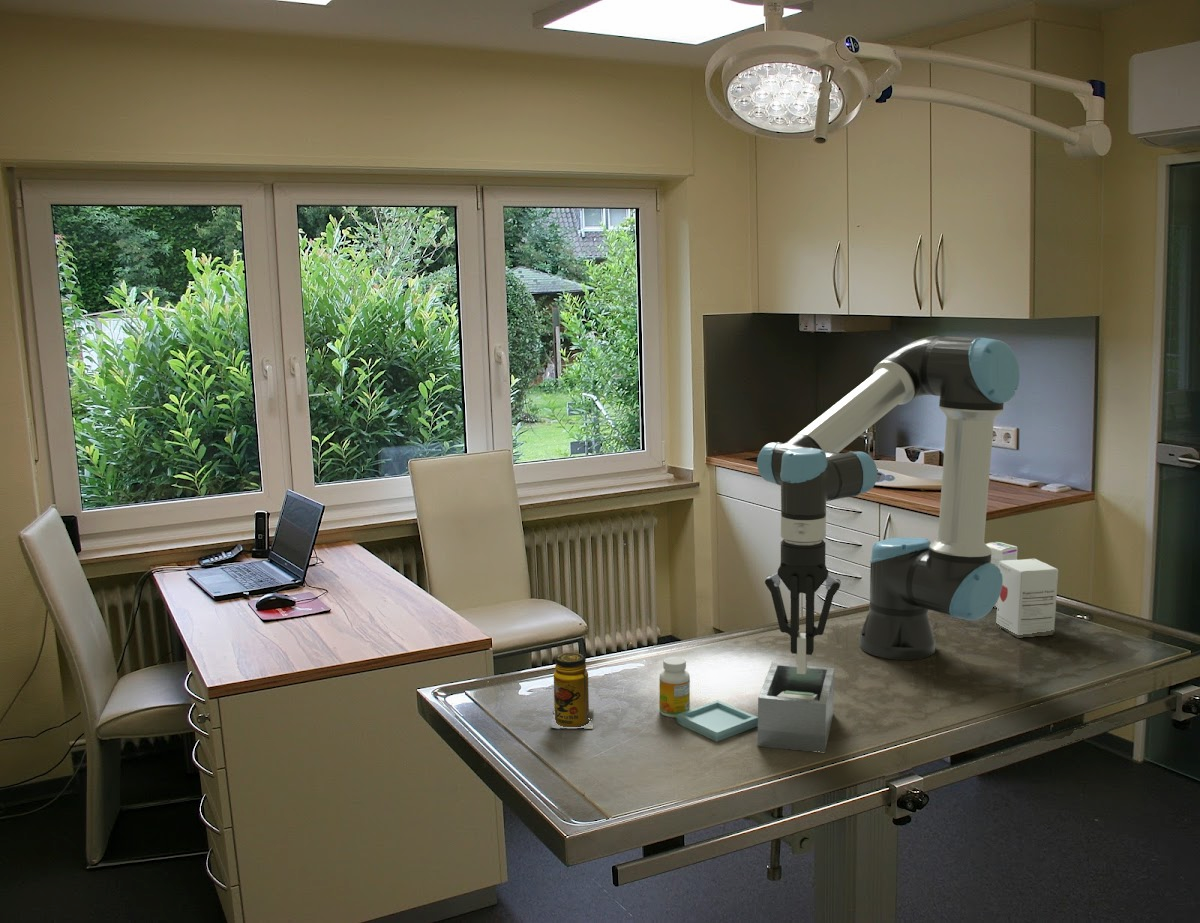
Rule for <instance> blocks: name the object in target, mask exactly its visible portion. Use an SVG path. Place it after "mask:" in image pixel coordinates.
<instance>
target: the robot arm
mask: <svg viewBox="0 0 1200 923" xmlns="http://www.w3.org/2000/svg"><path fill="white" fill-rule="evenodd" d="M1020 374H1021V373H1020V365H1019V361H1018V358H1017V356H1016V353H1015V352H1014V351H1013V349H1012V347H1011V346H1010V345H1009V344H1007V343H1006V342H1004V341H1002V340H999V339H995V338H987V337H964V336H963V337H962V336H945V335H932V336H926V337H923V338H920V339H916V340H915V341H911V342H910V343H908V344H906V345H903V346H902V347H900V348H898V350H895V351H893V352H892V353H890V354H889V355H888V356H886V357H885V358H884V359H882V360H881V361H879V362H878V363H877V364H876V365H875V367H874V368H873V370H872V374H871V375H870V376H869V377H867V378H866V379H865V380H864V381H863V382H861V383H860V384H859V385H858V386H856V387H855V388H854V389H852V390H851V391H850V392H848V393H847V394H846V395H845V396H843V397H842V398H841V399H840V400H838V401H837V402H835V404H833V405H832V406H831V407H829V408H828V409H827V410H826V411H824V412H823V413H822V414H821V415H819V416H818V417H817V418H816V419H814V420H813V421H812V422H811V423H809V424H807V426H806V427H804V428H803V429H802V430H801V431H799V432H798V433H797V434H795V435H794V436H793V437H791V438H790V439H789V440H788V441H786V442H784V443H783V442H779V441H777V442H769V443H767V444H765V445H764V446H763V447H762V448H761V450H760V451H759V453H758V456H757V459H756V460H757V461H756V467H757V470H758V472H759V475H760V477H761V479H763V480H765V481H767V483H768V482H769V483H773V484H775V485H778V486H780V509H781V510H780V537H781V538H782V540H781V541H780V565H779V567H778V569H777V572H775V573H773V574H768V575H767V577H766V578H765V581H764V584H765V585H766V587H767V590H769V591H770V595H771V599H772V603H773V608H774V611H775V614H776V618H777V622H778V627H779V630H780V632H781V633H783V634H785V633H786V634H788V635H789V637H790V653H791V654H795V655H796V665H797V674H806V671H807V666H808V655H810V656H812V655H813V654H814V650H815V648H814V647H815V644H814V643H815V637H817V636H822V635H824V631H825V628H826V625H827V620H828V618H829V614H830V609H831V606H832V603H833V598H834V596H835V595H836V593H837V592H838V591H839V589H840V587H841V582H842V581H841V580H840V578H834V577H833V576H831V575H830V574H829V571H828V570H829V569H828V568H827V566H826V565H827V564H826V542H825V540H824V539H826V531H827V526H826V525H827V502H830V501H835V500H839V499H844V498H851V497H856V496H859V495H861V494H864V493H867V492H870V491H871V490H872V489H873V488H874V486H875V485H876V483H877V480H878V467H877V464H876V462H875V461H874V459H873V457H871V456H870V455H869V454H868V453H867V452H864V451H851V450H850V451H847V452H846V453H845V452H844V453H840V452H841V451H842V450H844V449H845V448H846V447H847V446H848V445H850V444H851V443H852V442H854V440H856V439H857V438H858V437H860V436H861V435H862V434H863V433H864V432H866V431H867V430H868V429H869V428H870V427H872V426H873V425H874V424H876V423H877V422H878V421H879V420H880V419H882V418H883V417H884V416H885V415H887V414H888V413H889V412H890V411H892V410H893V409H894V408H895V407H897V405H906V404H908V403H910V402H911V401H912V400H913V399H914V398H917V397H921V396H935V397H937V396H938V397H939V403H938V404H939V406H938V408H939V409H940V410H941V411H942V412H943V414H944V415H945V416H946V423H945V424H946V425H945V436H944V437H945V438H944V449H943V461H942V462H943V463H942V476H941V478H942V479H941V491H940V506H939V516H938V517H939V519H938V533H937V538H936V539H935V540H934V541H932V542H931V541H930V540H929V539H928V538H924V537H915V536H913V537H911V536H910V537H909V536H907V537H904V536H903V537H894V538H891V537H890V538H886V539H882V540H879V541H877V542H875V543H874V544H873V546H872V548H871V557H870V558H871V559H870V561H869V562H870V570H869V571H870V576H869V577H870V578H869V580H870V582H869V610H868V614H867V615H866V619H865V621H864V624H863V626H862V629H861V632H860V635H859V647H860V649H861V650H862V651H864V652H865V653H868V654H870V655H872V656H875V657H879V658H884V659H889V660H897V661H898V660H899V661H914V660H922V659H926V658H929V657H931V656H932V654H933V653H934V654H935V652H936V637H935V635H934V633H933V628H932V624H931V621H930V618H929V614H928V613H929V612H928V611H929V610H930V611H934V612H935V613H936V612H937V613H941V614H944V615H946V616H950V617H952V618H954V619H963V620H967V621H978V620H981V619H983V618H984V617H986V616H987V615H988V614H989V613H991V611H992V610H993V609H994V608H993V607H994V606H995V604H996V602H997V601H998V598H999V596H1000V593H1001V589H1002V584H1003V577H1002V573H1000V572H1001V571H1000V569H999V568H998V567H997V566H996V565H995V564H992V563H991V554H992V552H991V549H990V548H989V547H988V546H987V545H986V544H987V543H985V535H986V534H985V533H986V523H987V513H988V512H987V510H988V497H989V485H990V474H991V473H990V472H991V459H992V450H993V447H992V446H993V435H994V434H993V433H994V423H995V422H994V421H995V419H996V418H997V417H998V416H999V415H1000V414H1001V413H1002V412H1003V411H1004V404H1005V403H1007V402H1009V401H1010V400H1011V399H1012V398H1013V397H1014V396H1016V391H1017V390H1018V387H1019V383H1020ZM781 582H782V583H783V584H784V585H785V587H786V588H787V590H788V591H789V594H790V623H789V621H788V617H787V613H786V612H787V611H786V608H785V604H784V601H783V600H784V599H783V597H782V591H781V588H780V584H781ZM823 583H826V584H825V589H826V590H827V591H826V595H825V599H824V602H823V606H822V609H821V612H820V617H819V621H818V624H817V625H815V596H816V595H815V594H816V592H817V591H818V590H819V589H820V587H821V586H822V585H823ZM800 594H804V595H805V632H799V631H800ZM934 654H933V655H934ZM930 655H931V656H930Z"/></svg>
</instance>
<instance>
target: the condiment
mask: <svg viewBox="0 0 1200 923" xmlns="http://www.w3.org/2000/svg"><path fill="white" fill-rule="evenodd" d="M586 661H587V659H586V657H585V655H584V654H581V653H578V652H566V653H562V654H558V655H557V656H556V657H555V671H554V673H553V702H554V703H553V704H554V705H553V706H554V709H553V710H554V711H555V713H554V715H555V720H556V723H557V724H558V725H560V726H563V727H581V726H584V725H586V724H588V723H589V721H591V724H592V725H588V726H591V727H586V728H584V729H583V730H585V729H589V730H590V729H592V730H594V709H595V708H589V707H590V706H589V705H590V702H589V701H590V700H589V699H590V698H589V695H590V694H589V674H588V673H589V672H588V671H587V665H586ZM588 718H590V720H589V719H588ZM591 719H592V720H591Z"/></svg>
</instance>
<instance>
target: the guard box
mask: <svg viewBox="0 0 1200 923" xmlns="http://www.w3.org/2000/svg"><path fill="white" fill-rule="evenodd" d="M786 690H788V691H798V692H809V693H814V694H818V698H817V699H818V701H816V700H806V699H796V698H786V697H777V695H779V694H780V693H781V692H783V691H786ZM834 694H835V667H828V666H827V667H826V666H815V665H807V671H806V674H797V664H793V663H783V662H782V663H781V662H773V661H772V662H771V664H770V667H769V668H768V671H767V675H766V676H765V679H764V681H763V684H762V687H761V689H760V693H759V694H758V696H757V697H758V698H757V717H758V726H757V744H756V745H757V747H760V748H761V747H762V748H763V747H764V748H771V749H781V750H788V749H791V751H797V750H803V751H802V752H806V751H817V752H818V751H820V752H825V753H826V750H827V749H826V748H827V746H826V745H827V744H828V741H827V740H828V739H829V735H830V732H831V731H830V730H831V726H832V721H833V716H834V703H835V701H834V699H835V697H834V696H835V695H834ZM825 749H826V750H825Z"/></svg>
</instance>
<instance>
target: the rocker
mask: <svg viewBox="0 0 1200 923" xmlns="http://www.w3.org/2000/svg"><path fill="white" fill-rule="evenodd" d="M777 697H786V698H796V699H806V700H816V701H818V699H817V698H818V694H814V693H809V692H798V691H788V690H786V691H783V692H781V693H780V694H779V695H777Z"/></svg>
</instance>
